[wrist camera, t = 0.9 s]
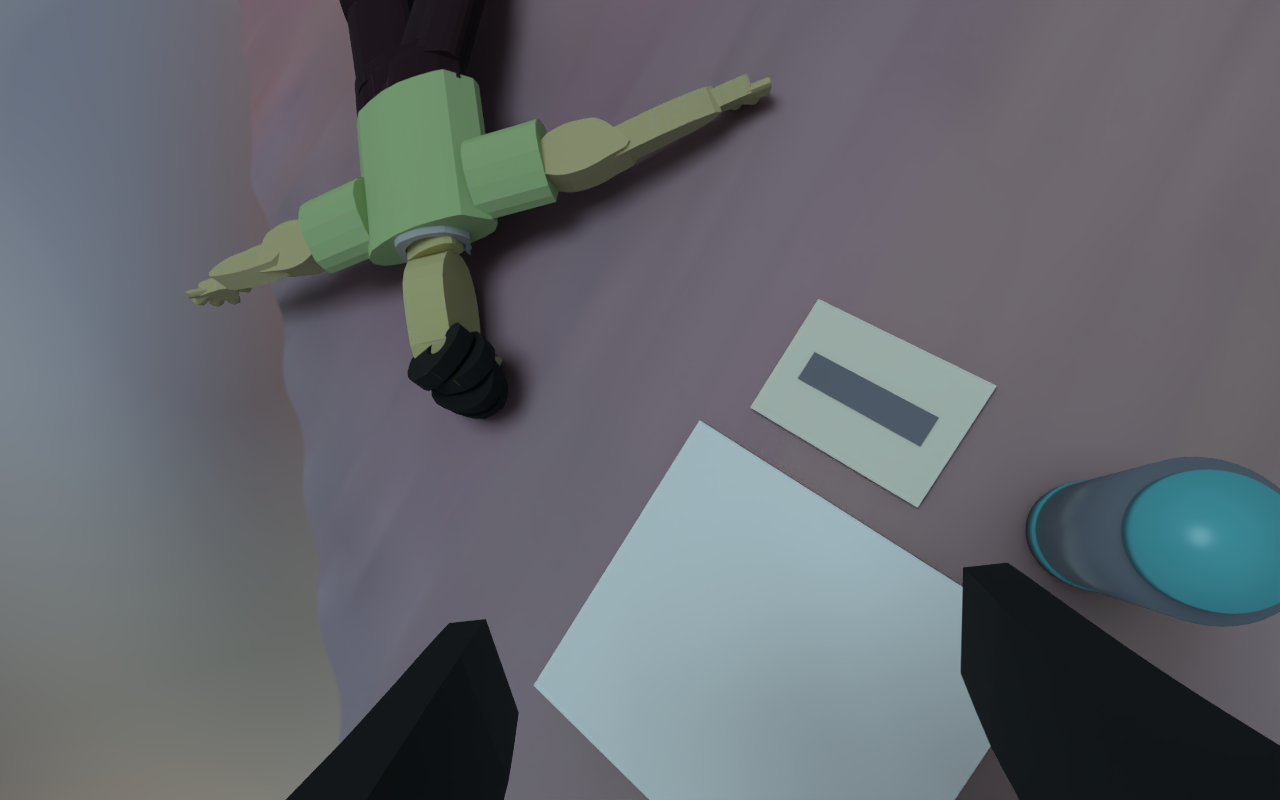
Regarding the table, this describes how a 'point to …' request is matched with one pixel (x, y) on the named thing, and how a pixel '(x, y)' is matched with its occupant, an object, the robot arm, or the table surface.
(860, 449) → the plate
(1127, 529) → the marker
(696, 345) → the table surface
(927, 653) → the paper
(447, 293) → the toy
